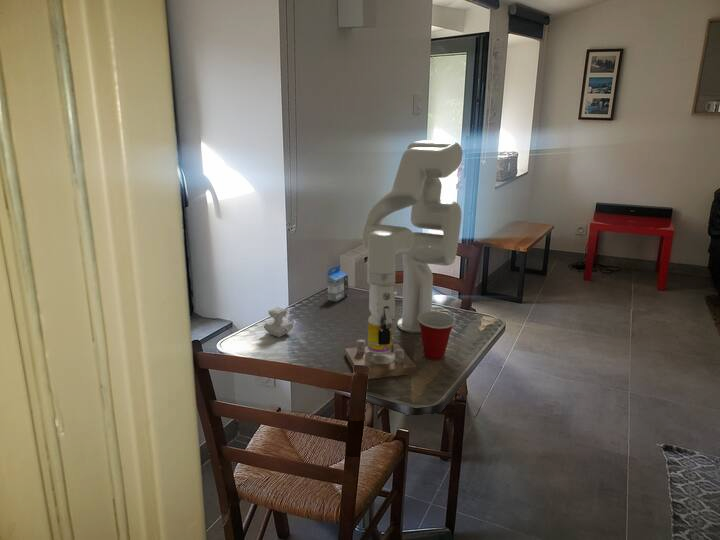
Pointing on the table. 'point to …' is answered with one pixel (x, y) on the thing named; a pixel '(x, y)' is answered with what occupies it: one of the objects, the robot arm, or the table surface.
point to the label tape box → (337, 284)
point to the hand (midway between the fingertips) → (380, 338)
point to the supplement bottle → (373, 337)
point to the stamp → (278, 323)
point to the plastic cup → (435, 333)
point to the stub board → (381, 360)
